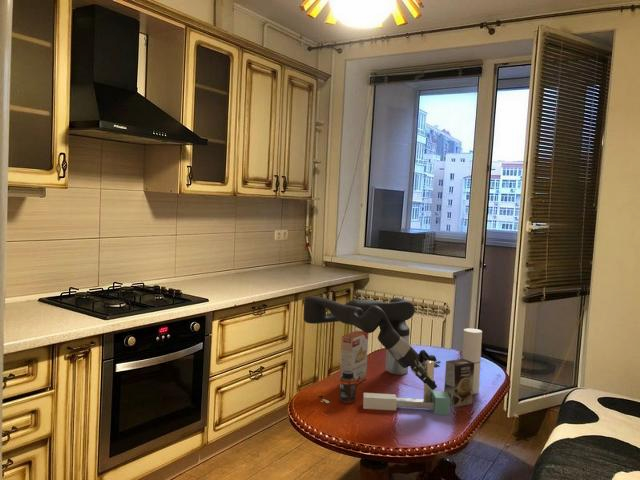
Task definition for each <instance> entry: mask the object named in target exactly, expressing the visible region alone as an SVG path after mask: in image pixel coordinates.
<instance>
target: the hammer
mask: <svg viewBox="0 0 640 480" xmlns="http://www.w3.org/2000/svg"><path fill="white" fill-rule="evenodd" d="M434 363H435V362H434V361H429V360H428V361H425V371H426V372H427V375H428V376H429V377H430V379H431V380H432V381H433V380H434V377H435V376H434V374H435V367H434ZM425 379H426V377H425V378H424V380H425ZM433 391H434V390H432V389H431V388H430V387H429V386H428V385H427V384H426V383H423V398H408V397H407V398H406V397H396V398H397V405H396V408H404V409H405V408H406V409H422V410H423V409H424V410H433V409H434V403H435V402H434V400H432V398H433Z"/></svg>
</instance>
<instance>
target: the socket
mask: <svg viewBox="0 0 640 480" xmlns="http://www.w3.org/2000/svg"><path fill="white" fill-rule="evenodd" d="M432 400H434V402H435V403H434V409H432V410H433V413H434V414H435V415H444V416H445V415H446V416H447V415H450V407H451V405H450V397H449V395H448V393H447V392H446V391H444V390H443V391H442V390H441V391H440V390H439V391H438V390H433V398H432Z"/></svg>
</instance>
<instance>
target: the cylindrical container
mask: <svg viewBox="0 0 640 480" xmlns="http://www.w3.org/2000/svg"><path fill="white" fill-rule="evenodd" d="M482 338H483V330H481V329H478V328H471V327H470V328H469V327H467V328H463V338H462V339H463V341H462V342H463V343H462V355H461V356H462V358H461V359H465V360H468V361H471V362H473V363H474V378H473V395H476V394H479V392H480V380H481V379H480V376H481V360H482V359H481V358H482V344H483V343H482V340H483V339H482Z"/></svg>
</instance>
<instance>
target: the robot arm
mask: <svg viewBox="0 0 640 480" xmlns="http://www.w3.org/2000/svg"><path fill="white" fill-rule="evenodd" d="M303 301H304V302H303V321H304V322H305V323H306V324H312V325H313V324H314V325H315V324H326V323H337V322H340V323H343V324H346V325H350V326H354V327H356V328H357V329H359V330H360V331H364V332H365V333H368V334H372V333H374V332H375V331H376V330H377V329H378V328H379V333H378V336H377V340H378V342H379V343H380V344H381V345H382V346H383V347H384V348H385V349H386V350H385V371H386V372H387V373H389V374H392V375H398V376H399V375H401V376H402V375H406V374H408V372H409V367H410V371H411V372H412V374H415V376H416V377H417V378H418V379H419V380H420V381H421V382H422V383H423V384H424V383H426V384H427V385H428V386H429V387H430V388H431V389H432V390H433V391H435V390H436V389H437V387H438V386H437V384H436V381H435V380H434V379H433V381H432V380H431V379H430V377H429V376H428V375H427V372H426V371H425V368H424V367H423V366H422V365H421V363H420V362H419V361H418V360H417V357H418V354H419V353H418V352H417V351H416V350H415V348H413V347H412V345H410V333H411V332H410V327H409V325H407V322H406V321H408V320H410V319H411V318H413V317H414V315H415V311H416V310H415V305H414V304H413V303H412V302H411V301H410V300H407V299H406V298H405V299H404V298H401V297H393V298H391V299H390V300H389V302H384V301H379V300H373V299H350V300H349V301H348V302H346V303H345V304H343V303H340V302H337V301H335V300H332V299H329V298H327V297H323V296H319V295H309V296H306V297H305V298H304V300H303ZM327 310H328V311H329V313H327ZM425 377H426V379H425ZM424 379H425V380H424Z"/></svg>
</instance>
